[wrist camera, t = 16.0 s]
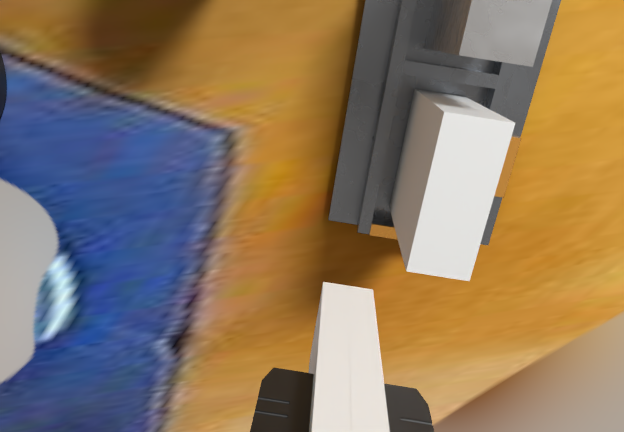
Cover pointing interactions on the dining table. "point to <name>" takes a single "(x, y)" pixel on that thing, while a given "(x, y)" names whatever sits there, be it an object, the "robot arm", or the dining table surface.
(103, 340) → the dining table surface
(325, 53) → the dining table surface
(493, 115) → the block
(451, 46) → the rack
